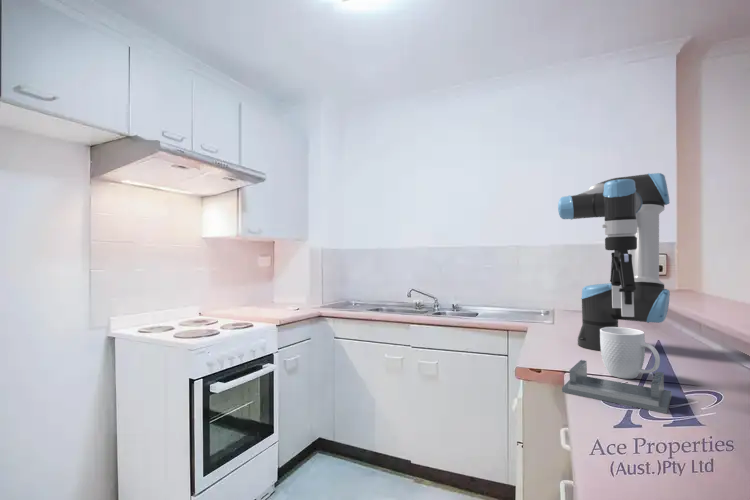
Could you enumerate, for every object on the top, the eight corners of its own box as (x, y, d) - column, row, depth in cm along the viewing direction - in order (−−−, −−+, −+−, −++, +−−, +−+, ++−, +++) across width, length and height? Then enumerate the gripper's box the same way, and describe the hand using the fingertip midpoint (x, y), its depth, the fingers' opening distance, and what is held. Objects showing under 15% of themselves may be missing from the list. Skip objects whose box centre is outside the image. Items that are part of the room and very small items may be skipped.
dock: (575, 378, 112) (574, 359, 112) (671, 396, 98) (671, 373, 98) (562, 392, 102) (561, 370, 102) (666, 413, 88) (666, 388, 88)
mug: (668, 380, 109) (667, 333, 109) (651, 388, 103) (649, 339, 103) (612, 367, 121) (611, 325, 121) (593, 374, 115) (592, 330, 115)
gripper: (598, 236, 121) (600, 304, 122) (613, 236, 98) (615, 320, 99) (626, 235, 119) (628, 305, 119) (648, 234, 96) (650, 321, 96)
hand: (622, 312), depth 109 cm, fingers open, 13 cm apart
